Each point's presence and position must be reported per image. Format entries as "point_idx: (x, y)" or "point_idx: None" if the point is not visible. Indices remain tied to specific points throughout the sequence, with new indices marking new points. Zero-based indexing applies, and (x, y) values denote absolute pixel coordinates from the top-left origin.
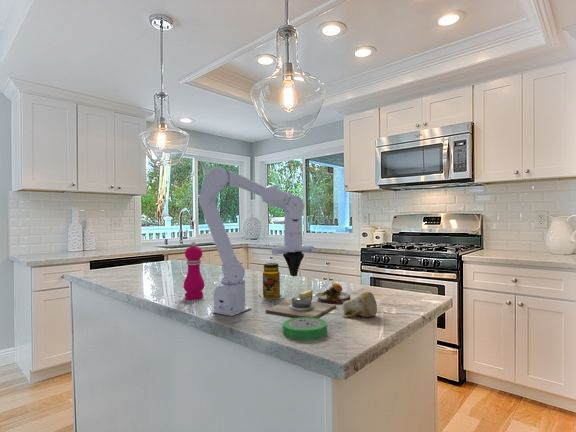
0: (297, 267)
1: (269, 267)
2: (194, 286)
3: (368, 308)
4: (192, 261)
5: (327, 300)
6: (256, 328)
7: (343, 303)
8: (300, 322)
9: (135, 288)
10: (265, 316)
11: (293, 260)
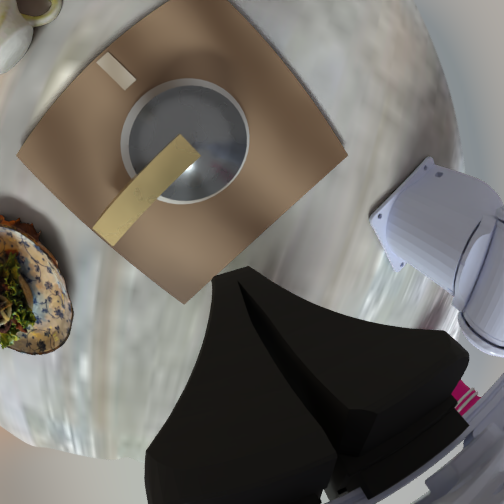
0: (230, 315)
1: None
2: None
3: None
4: (476, 393)
5: (33, 236)
6: (397, 18)
7: (16, 35)
8: None
9: None
10: (355, 106)
11: (356, 339)
